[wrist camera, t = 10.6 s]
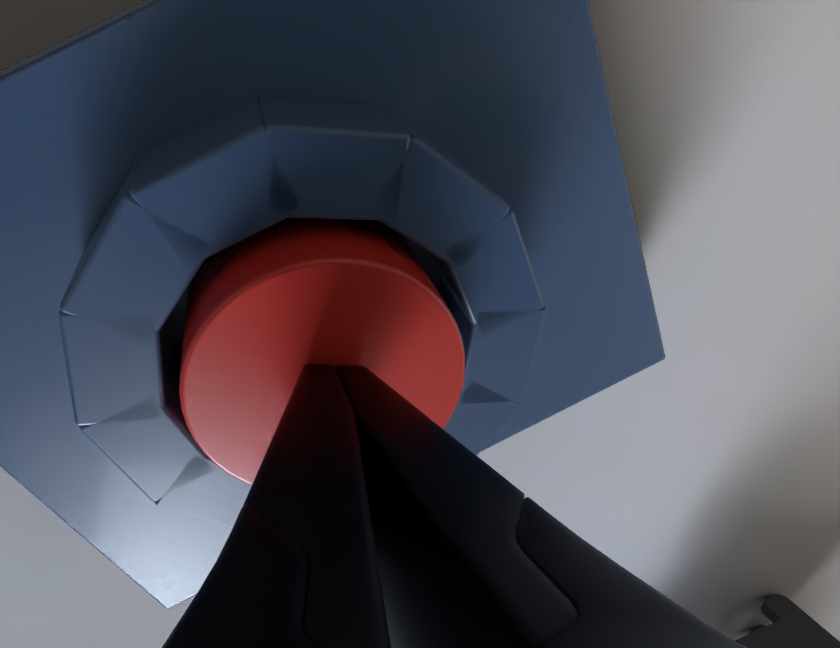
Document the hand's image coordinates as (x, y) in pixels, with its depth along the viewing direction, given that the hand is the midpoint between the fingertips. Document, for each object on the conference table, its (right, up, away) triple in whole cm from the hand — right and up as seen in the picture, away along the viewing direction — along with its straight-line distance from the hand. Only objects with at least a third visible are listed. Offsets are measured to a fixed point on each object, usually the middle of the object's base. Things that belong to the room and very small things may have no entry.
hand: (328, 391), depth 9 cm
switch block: (-1, +2, +4) cm, 5 cm away
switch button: (0, +1, +2) cm, 2 cm away
